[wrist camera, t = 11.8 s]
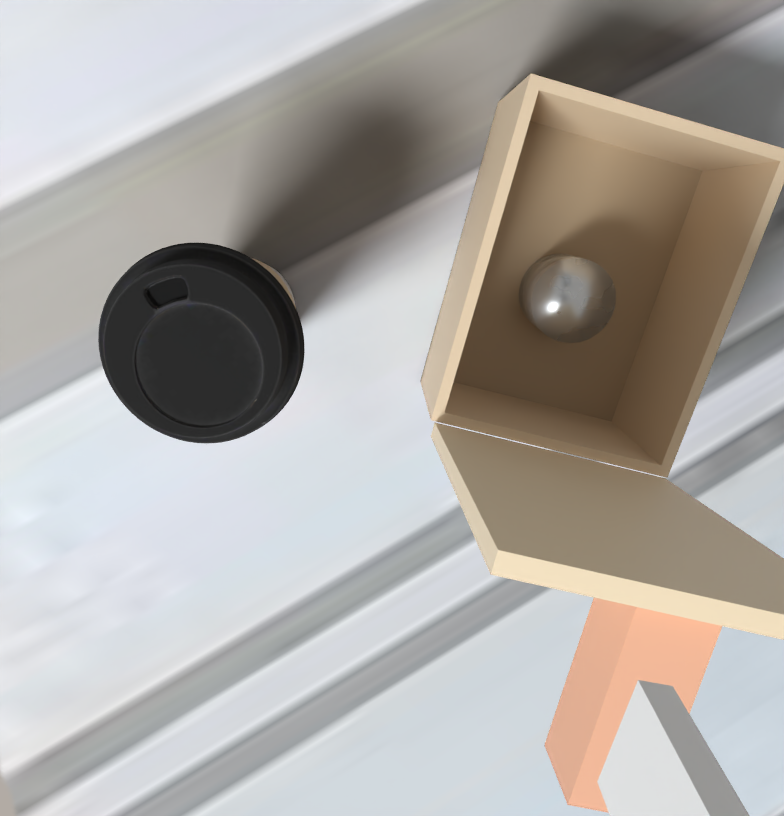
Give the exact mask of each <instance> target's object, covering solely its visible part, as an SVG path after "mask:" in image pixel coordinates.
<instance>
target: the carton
mask: <svg viewBox="0 0 784 816" xmlns="http://www.w3.org/2000/svg"><path fill="white" fill-rule="evenodd" d="M783 184H784V148H781V147H777V146H774V145H771V144H767V143H764V142H760V141H757V140H754V139H750V138H747V137H744V136H740V135H737V134H733V133H730V132H727V131H723V130H720V129H717V128H713V127H710V126H706V125H703V124H700V123H696V122H693V121H690V120H686V119H683V118H680V117H676V116H673V115H669V114H666V113H663V112H659V111H656V110H653V109H649V108H646V107H642V106H639V105H636V104H632V103H629V102H626V101H622V100H619V99H615V98H612V97H609V96H605V95H602V94H599V93H595V92H592V91H589V90H585V89H582V88H578V87H575V86H572V85H568V84H565V83H562V82H558V81H555V80H551V79H548V78H545V77H541V76H538V75H535V74H530V75H529V76H527V77H526V78H525V79H524V80H523V81H522V82H521V83H520V84H518V85H517V86H516V87H515V88H514V89H513V90H512V91H511V92H509V93H508V94H507V95H506V96H505V97H504V98H503V99H502V100H500V101H499V102H498V105H497V108H496V112H495V116H494V119H493V123H492V126H491V130H490V133H489V137H488V141H487V144H486V148H485V151H484V155H483V159H482V162H481V166H480V169H479V173H478V176H477V180H476V184H475V187H474V191H473V194H472V198H471V202H470V205H469V209H468V212H467V216H466V219H465V223H464V227H463V230H462V234H461V237H460V241H459V245H458V248H457V252H456V255H455V259H454V262H453V266H452V270H451V273H450V277H449V280H448V284H447V288H446V291H445V295H444V298H443V302H442V305H441V309H440V313H439V316H438V320H437V323H436V327H435V331H434V334H433V338H432V341H431V345H430V348H429V352H428V356H427V359H426V363H425V366H424V370H423V374H422V377H421V385H422V389H423V392H424V396H425V400H426V403H427V407H428V411H429V414H430V418H431V420H433V421H437V422H441V423H445V424H449V425H453V426H457V427H461V428H466V429H470V430H474V431H478V432H482V433H486V434H490V435H494V436H498V437H503V438H507V439H511V440H515V441H519V442H523V443H527V444H531V445H536V446H540V447H544V448H548V449H552V450H556V451H560V452H564V453H568V454H573V455H577V456H581V457H585V458H589V459H593V460H597V461H601V462H605V463H610V464H614V465H618V466H622V467H626V468H630V469H634V470H638V471H643V472H647V473H651V474H655V475H659V476H663V477H668V475H669V472H670V470H671V467H672V464H673V462H674V459H675V457H676V454H677V452H678V449H679V447H680V444H681V442H682V439H683V437H684V434H685V432H686V429H687V427H688V424H689V422H690V419H691V417H692V414H693V411H694V409H695V406H696V404H697V401H698V399H699V396H700V394H701V391H702V389H703V386H704V384H705V381H706V379H707V376H708V374H709V371H710V369H711V366H712V364H713V361H714V358H715V356H716V353H717V351H718V348H719V346H720V343H721V341H722V338H723V336H724V333H725V331H726V328H727V326H728V323H729V321H730V318H731V316H732V313H733V311H734V308H735V305H736V303H737V300H738V298H739V295H740V293H741V290H742V288H743V285H744V283H745V280H746V278H747V275H748V273H749V270H750V268H751V265H752V263H753V260H754V258H755V255H756V252H757V250H758V247H759V245H760V242H761V240H762V237H763V235H764V232H765V230H766V227H767V225H768V222H769V220H770V217H771V215H772V212H773V210H774V207H775V205H776V202H777V200H778V197H779V194H780V192H781V189H782V187H783ZM552 254H569V255H572V256H576V257H580V258H583V259H587V260H590V261H592V262H595V263H597V264H598V265H600V266H601V267H602V268H604V269H605V271H606V272H607V273H608V274H609V276H610V277H611V279H612V281H613V284H614V287H615V292H616V304H615V308H614V312H613V314H612V316H611V319H610V320H609V322H608V323H607V325H606V326H605V327H604V328H603V329H602V330H601V331H600V332H599V333H598V334H596V335H595V336H593V337H592V338H590V339H587V340H585V341H582V342H577V343H563V342H559V341H556V340H554V339H552V338H550V337H548V336H547V335H546V334H544V333H543V332H542V331H541V330H539V329H538V328H537V327H536V326H535V325H533V324H532V323H531V322H530V321H529V320H528V319H527V318H526V316H525V315H524V313H523V311H522V309H521V306H520V302H519V289H520V284H521V281H522V279H523V276H524V275H525V273H526V271H527V270H528V269H529V268H530V267H531V266H532V265H533V264H534V263H535V262H536V261H538V260H539V259H541V258H543V257H545V256H548V255H552Z"/></svg>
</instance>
